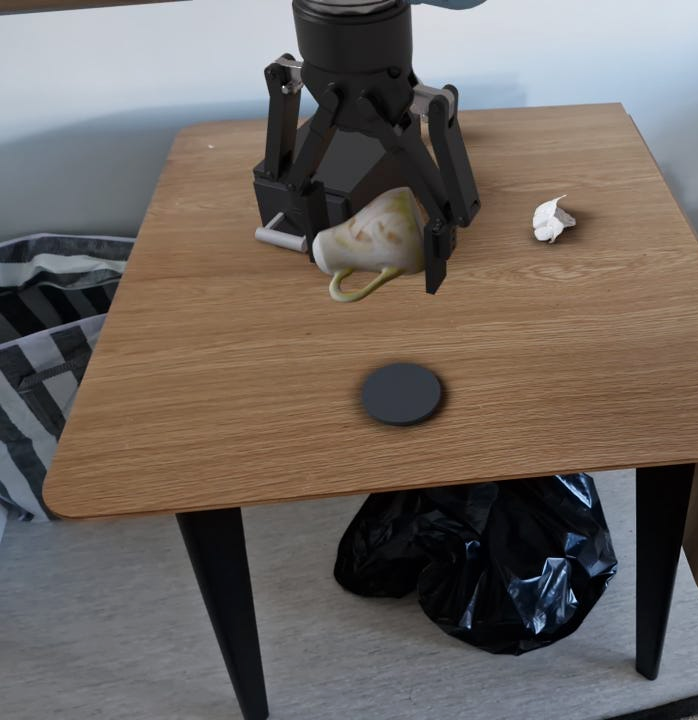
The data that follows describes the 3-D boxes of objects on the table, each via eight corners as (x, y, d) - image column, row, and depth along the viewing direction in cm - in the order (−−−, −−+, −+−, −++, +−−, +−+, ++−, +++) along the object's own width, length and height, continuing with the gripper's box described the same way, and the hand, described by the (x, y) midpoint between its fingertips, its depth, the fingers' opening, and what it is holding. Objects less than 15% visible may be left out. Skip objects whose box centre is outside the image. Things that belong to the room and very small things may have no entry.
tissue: (518, 233, 93) (520, 208, 90) (548, 204, 98) (550, 179, 95) (556, 248, 91) (560, 223, 88) (585, 217, 96) (588, 193, 93)
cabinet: (358, 263, 88) (349, 192, 81) (268, 240, 91) (252, 168, 83) (423, 182, 101) (420, 114, 94) (342, 163, 104) (333, 96, 96)
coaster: (421, 435, 70) (421, 431, 69) (347, 412, 72) (346, 408, 71) (452, 379, 75) (452, 375, 75) (382, 358, 77) (382, 354, 76)
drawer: (328, 287, 83) (318, 228, 77) (243, 264, 86) (227, 204, 80) (412, 184, 99) (409, 128, 93) (337, 166, 101) (330, 111, 95)
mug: (307, 252, 64) (350, 149, 59) (408, 293, 67) (456, 199, 62) (296, 289, 57) (343, 177, 53) (408, 333, 60) (462, 230, 56)
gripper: (540, -1, 45) (517, 274, 61) (230, -51, 50) (284, 216, 66) (501, 44, 41) (488, 331, 57) (162, -16, 46) (238, 263, 62)
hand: (378, 269), depth 62 cm, fingers closed on mug, 10 cm apart
